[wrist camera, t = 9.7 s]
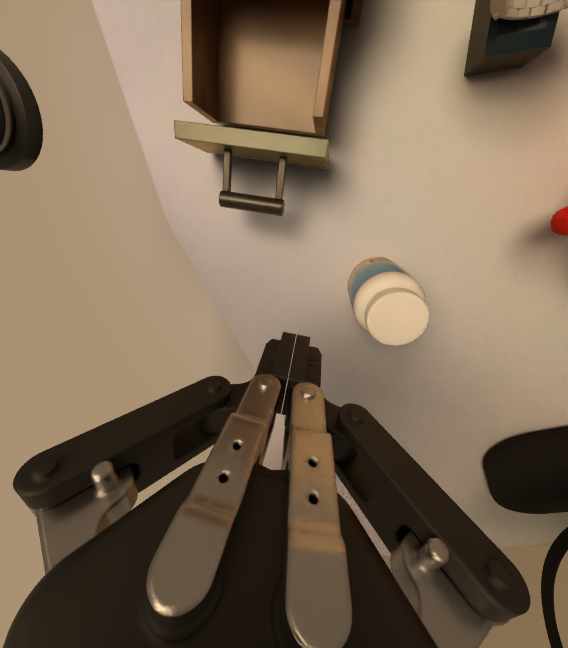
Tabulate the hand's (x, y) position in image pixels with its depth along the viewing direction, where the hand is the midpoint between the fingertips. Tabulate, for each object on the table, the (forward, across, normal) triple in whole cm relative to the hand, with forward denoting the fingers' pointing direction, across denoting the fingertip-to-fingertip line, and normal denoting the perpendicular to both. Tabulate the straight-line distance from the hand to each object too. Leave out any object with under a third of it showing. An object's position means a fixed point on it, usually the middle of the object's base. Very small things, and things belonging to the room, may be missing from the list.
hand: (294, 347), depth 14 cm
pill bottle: (+18, +8, -2) cm, 20 cm away
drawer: (+19, -7, +13) cm, 24 cm away
